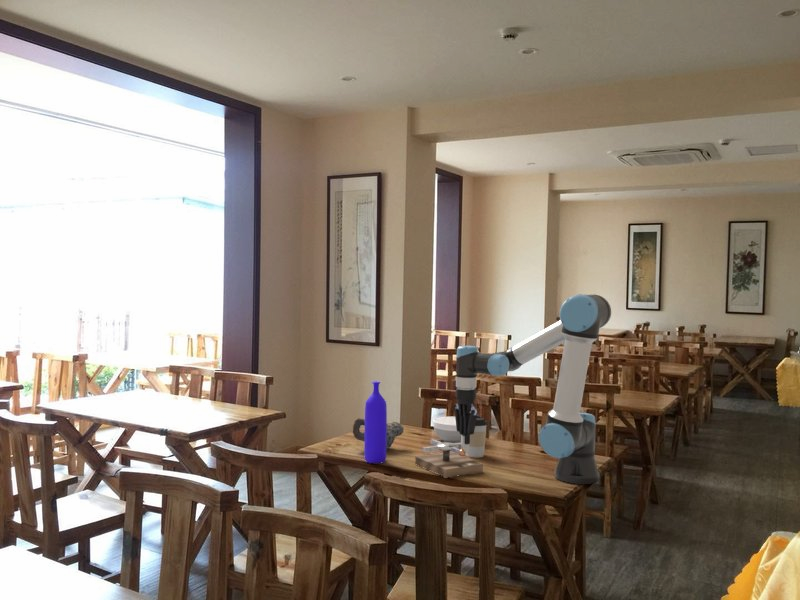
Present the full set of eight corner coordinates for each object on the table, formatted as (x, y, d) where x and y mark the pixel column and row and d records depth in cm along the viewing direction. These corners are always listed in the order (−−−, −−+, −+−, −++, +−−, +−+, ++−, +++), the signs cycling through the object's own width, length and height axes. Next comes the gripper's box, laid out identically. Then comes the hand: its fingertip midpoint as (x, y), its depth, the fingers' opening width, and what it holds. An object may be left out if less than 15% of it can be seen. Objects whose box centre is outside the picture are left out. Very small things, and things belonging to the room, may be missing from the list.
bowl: (424, 441, 289) (424, 421, 289) (447, 434, 304) (447, 414, 304) (463, 448, 278) (463, 427, 278) (484, 440, 294) (485, 419, 294)
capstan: (486, 453, 242) (486, 447, 242) (440, 460, 233) (440, 453, 232) (453, 441, 260) (453, 435, 260) (409, 447, 250) (409, 440, 250)
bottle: (378, 465, 250) (379, 384, 250) (359, 461, 255) (360, 382, 254) (390, 460, 258) (391, 381, 257) (372, 457, 262) (373, 379, 261)
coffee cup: (485, 458, 262) (486, 420, 261) (462, 457, 264) (462, 418, 263) (487, 453, 271) (487, 415, 270) (464, 451, 272) (465, 414, 272)
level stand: (482, 472, 243) (483, 453, 243) (445, 478, 235) (445, 458, 235) (451, 459, 260) (451, 441, 260) (415, 464, 252) (415, 446, 252)
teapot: (399, 444, 284) (399, 408, 284) (408, 450, 273) (408, 413, 273) (349, 447, 277) (349, 410, 277) (356, 454, 266) (357, 415, 266)
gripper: (485, 390, 244) (483, 455, 245) (464, 385, 256) (462, 447, 256) (468, 391, 241) (466, 457, 241) (447, 386, 252) (446, 449, 253)
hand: (464, 452), depth 249 cm, fingers closed
